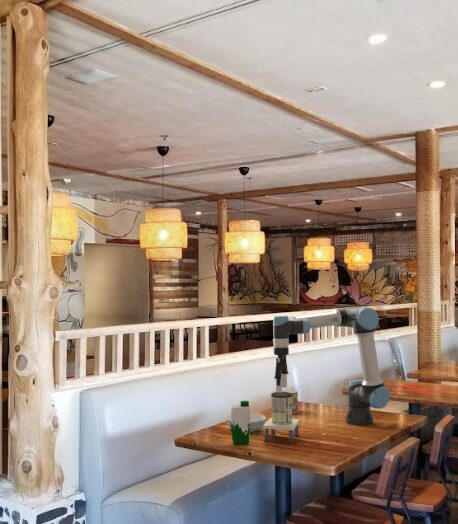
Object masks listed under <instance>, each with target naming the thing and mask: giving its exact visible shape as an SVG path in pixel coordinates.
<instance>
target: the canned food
mask: <svg viewBox="0 0 458 524" xmlns="http://www.w3.org/2000/svg"><path fill="white" fill-rule="evenodd" d="M282 392H289V393H292V414H297V413H298V412H299V404H298V403H299V400H298V399H299V398H298V395H299V393H298V392H299V391H298V390H295V389H282Z"/></svg>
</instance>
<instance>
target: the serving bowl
mask: <svg viewBox="0 0 458 524" xmlns="http://www.w3.org/2000/svg"><path fill="white" fill-rule="evenodd" d="M266 419H267V418H266V416H264V415H263V414H259V413H250V433H253V432H255V431H259V430H261V429H263V425H264V424H265V423H266V421H267V420H266ZM225 420H226V424H227V426H228V427H229V428H230V429H231V414H229V415H227V416H226V417H225Z"/></svg>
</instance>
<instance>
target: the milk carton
mask: <svg viewBox="0 0 458 524" xmlns="http://www.w3.org/2000/svg"><path fill="white" fill-rule="evenodd" d="M249 404H250V401H249V400H240V404H239V403H237V404H231V411H230V415H231V428H230V435H231V441H232V443H233V446H249V445H250V436H251V435H250V434H251V432H250V412H251V411H250V405H249Z"/></svg>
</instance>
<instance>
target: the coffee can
mask: <svg viewBox="0 0 458 524" xmlns="http://www.w3.org/2000/svg"><path fill="white" fill-rule="evenodd" d="M270 395H271V418H272V423H274V424H281V425H284V424H291V423H292V419H293V413H292V393H289V392H276V391H274V392H272V393H270Z"/></svg>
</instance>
